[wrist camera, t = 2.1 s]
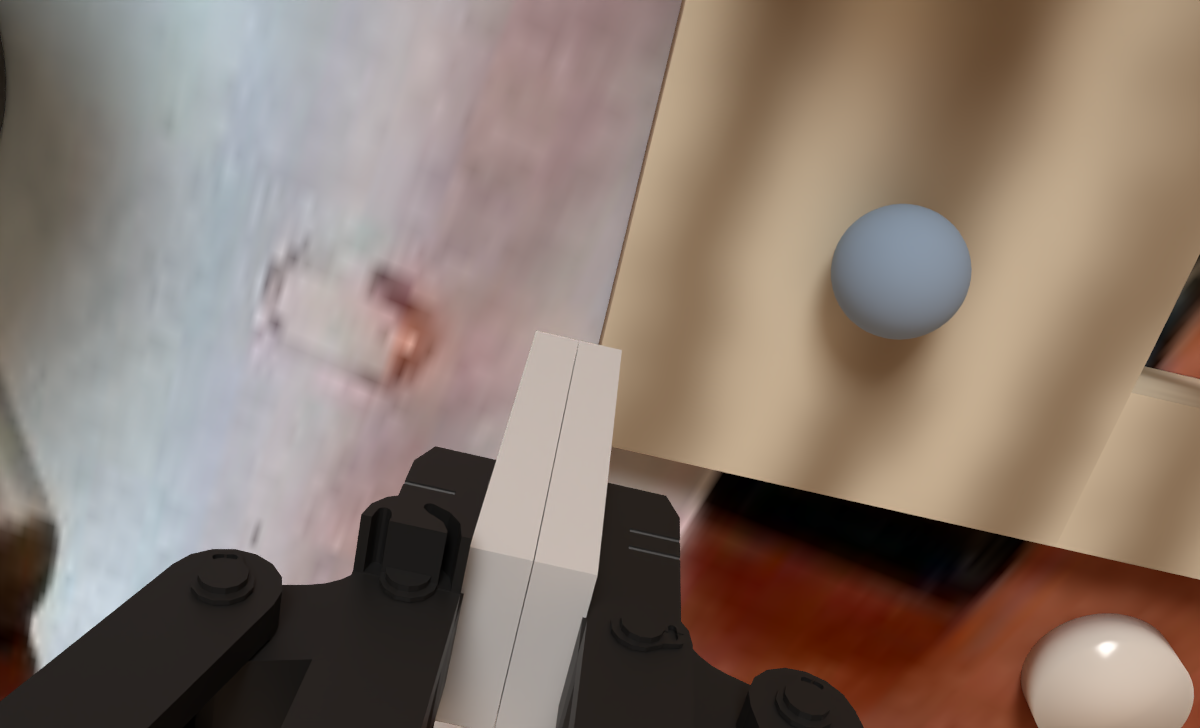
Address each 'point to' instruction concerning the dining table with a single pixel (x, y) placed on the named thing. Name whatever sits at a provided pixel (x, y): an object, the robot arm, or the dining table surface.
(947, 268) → the ball
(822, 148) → the board
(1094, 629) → the glossy white dome
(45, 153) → the dining table surface
